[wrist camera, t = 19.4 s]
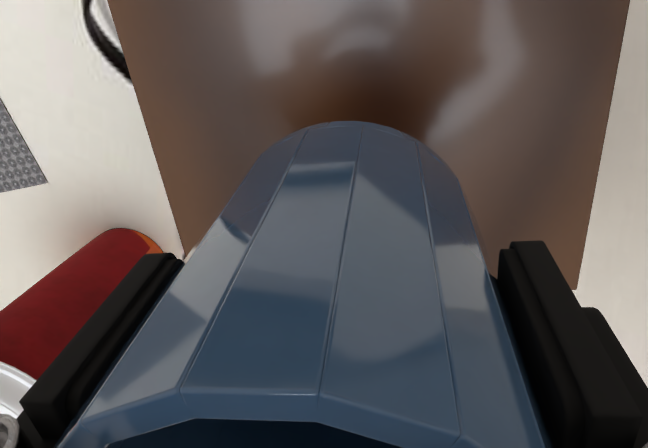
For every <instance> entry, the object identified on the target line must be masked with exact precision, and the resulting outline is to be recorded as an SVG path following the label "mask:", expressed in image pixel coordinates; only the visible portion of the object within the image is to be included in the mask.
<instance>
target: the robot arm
mask: <svg viewBox="0 0 648 448" xmlns="http://www.w3.org/2000/svg"><path fill="white" fill-rule="evenodd" d="M182 263H183V261H182V260H180V259H177V258H176V257H175V255H174V254H172V253H151V254H145V255H143V256H142V257H141V258H140V260H139V261H138V262H137V263H136V264H135V265H134V267H133V268H132V269H131V270H130V271H129V273H128V274H127V275H126V276H125V277H124V278H123V280H122V281H121V282H120V283H119V284H118V285H117V287H116V288H115V289H114V290H113V291H112V293H111V294H110V295H109V296H108V297H107V298H106V300H105V301H104V302H103V303H102V304H101V305H100V307H99V308H98V309H97V310H96V311H95V313H94V314H93V315H92V316H91V317H90V318H89V320H88V321H87V322H86V323H85V324H84V325H83V327H82V328H81V329H80V330H79V331H78V333H77V334H76V335H75V336H74V337H73V338H72V340H71V341H70V342H69V343H68V344H67V345H66V347H65V348H64V349H63V350H62V351H61V353H60V354H59V355H58V356H57V357H56V358H55V360H54V361H53V362H52V363H51V364H50V365H49V367H48V368H47V369H46V370H45V371H44V373H43V374H42V375H41V376H40V377H39V378H38V380H37V381H36V382H35V383H34V384H33V385H32V387H31V388H30V389H29V390H28V391H27V393H26V394H25V395H24V396H23V397H22V398H21V400H20V401H19V403H20V404H21V406H22V408H23V409H24V410H23V411H22V412H21V414H20V415H19V416H18V417H17V419H16V418H14V417H12V416H10V415H9V414H0V448H53V447H54V446H55V444H56V443H57V442H58V440H59V439H60V437H61V436H62V434H63V433H64V432H65V430H66V429H67V427H68V426H69V424H70V423H71V421H72V420H73V419H74V417H75V416H76V414H77V413H78V411H79V410H80V409H81V407H82V406H83V404H84V403H85V401H86V400H87V399H88V397H89V396H90V394H91V393H92V391H93V390H94V389H95V387H96V386H97V384H98V383H99V381H100V380H101V379H102V377H103V376H104V374H105V373H106V371H107V370H108V369H109V367H110V366H111V364H112V363H113V361H114V360H115V358H116V357H117V356H118V354H119V353H120V351H121V350H122V348H123V347H124V346H125V344H126V343H127V341H128V340H129V338H130V337H131V336H132V334H133V333H134V331H135V330H136V328H137V327H138V326H139V324H140V323H141V321H142V320H143V318H144V317H145V316H146V314H147V313H148V311H149V310H150V308H151V307H152V306H153V304H154V303H155V301H156V300H157V298H158V297H159V296H160V294H161V293H162V291H163V290H164V288H165V287H166V285H167V284H168V283H169V281H170V280H171V278H172V277H173V275H174V274H175V273H176V271H177V270H178V268H179V267H180V265H181V264H182ZM497 281H498V284H499V286H500V289H501V292H502V295H503V298H504V301H505V304H506V307H507V310H508V312H509V315H510V318H511V321H512V324H513V327H514V330H515V333H516V336H517V338H518V341H519V344H520V347H521V350H522V353H523V356H524V359H525V362H526V364H527V367H528V370H529V373H530V376H531V379H532V382H533V385H534V388H535V391H536V393H537V396H538V399H539V402H540V405H541V408H542V411H543V414H544V417H545V419H546V422H547V425H548V428H549V431H550V434H551V437H552V440H553V443H554V445H555V448H648V388H647V386H646V385H645V383H644V381H643V380H642V378H641V377H640V375H639V373H638V372H637V370H636V368H635V367H634V365H633V364H632V362H631V360H630V359H629V357H628V355H627V354H626V352H625V351H624V349H623V347H622V346H621V344H620V342H619V341H618V339H617V338H616V336H615V334H614V333H613V331H612V329H611V328H610V326H609V325H608V323H607V321H606V320H605V318H604V316H603V315H602V314H601V313H600V311H599V310H598V309H596V308H594V307H581V306H580V304H579V303H578V301H577V299H576V297H575V295H574V294H573V292H572V290H571V288H570V287H569V285H568V283H567V281H566V280H565V278H564V276H563V274H562V272H561V271H560V269H559V267H558V265H557V264H556V262H555V260H554V258H553V257H552V255H551V253H550V251H549V249H548V248H547V246H546V244H545V243H544V242H543V241H541V240H539V241H512V242H511V243H510V246H509V249H501V250H500V252H499V261H498V274H497Z"/></svg>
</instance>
